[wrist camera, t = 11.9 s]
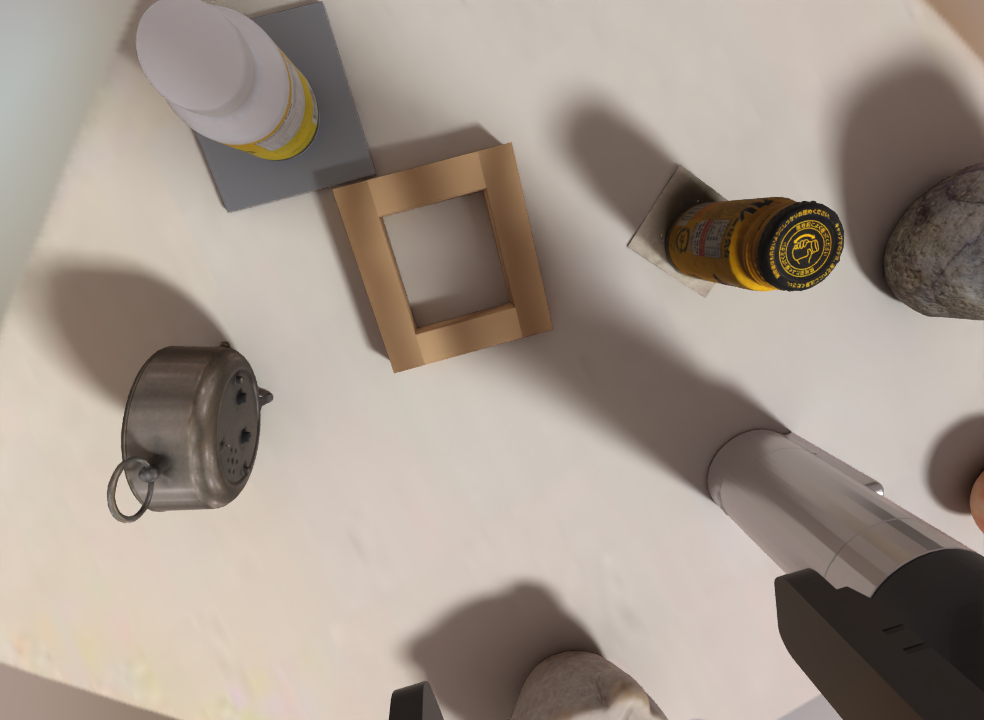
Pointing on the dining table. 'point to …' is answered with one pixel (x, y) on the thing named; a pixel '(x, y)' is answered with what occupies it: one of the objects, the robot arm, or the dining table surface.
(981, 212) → the stone
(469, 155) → the wooden square frame
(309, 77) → the slate coaster
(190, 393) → the alarm clock
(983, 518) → the tomato
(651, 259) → the condiment
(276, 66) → the pill bottle
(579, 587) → the dining table surface
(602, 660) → the mortar
